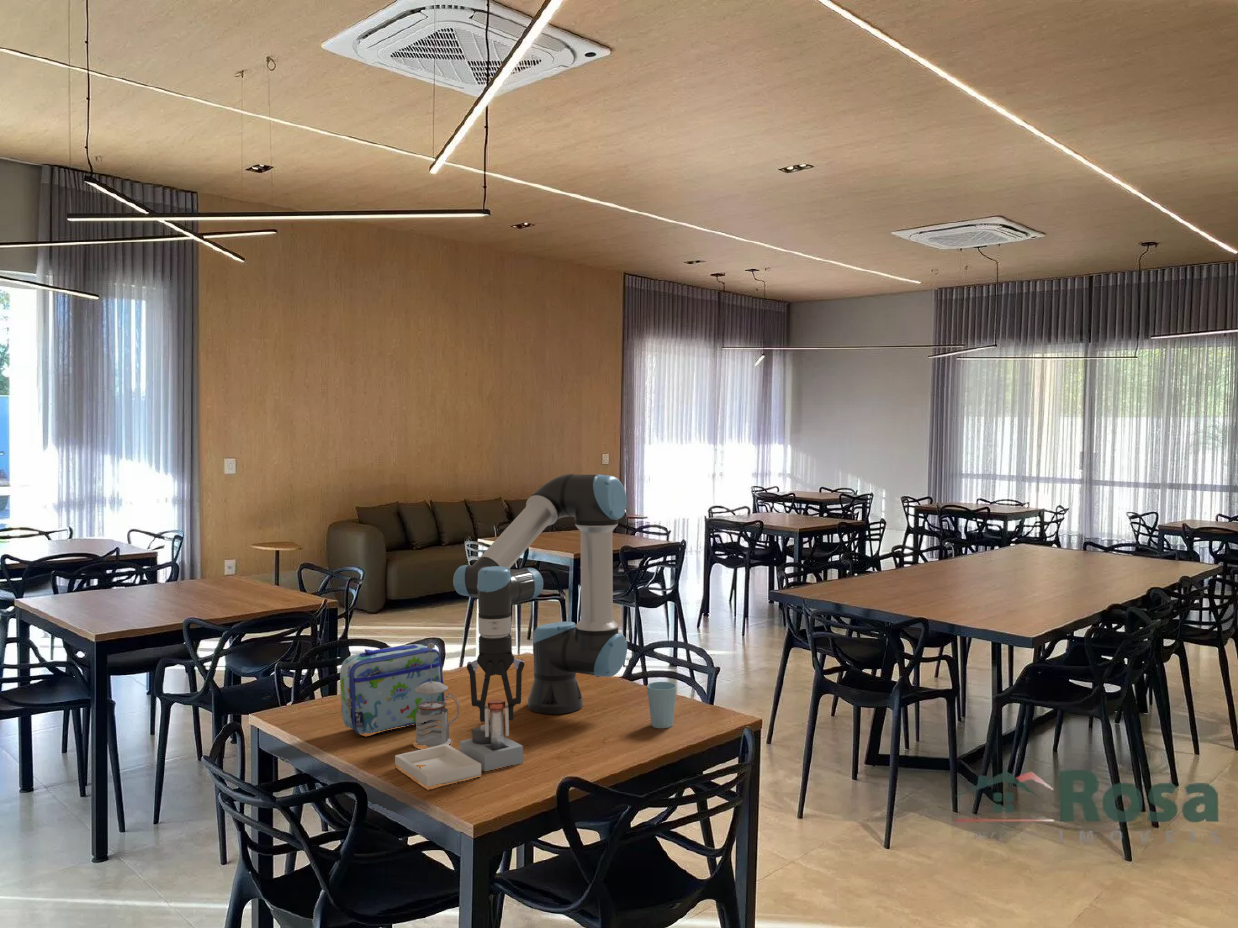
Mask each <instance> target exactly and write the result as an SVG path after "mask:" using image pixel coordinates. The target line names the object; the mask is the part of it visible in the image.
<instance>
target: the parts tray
mask: <svg viewBox="0 0 1238 928" xmlns="http://www.w3.org/2000/svg"><path fill="white" fill-rule="evenodd" d="M395 765H398V766H399V767H401V768H402V769H403V770H404V771H406V772H407V773H408V774H411V775H412V776H413V777H414V778H416V779H417V780H418V781H419V782H421V783H422V784H424V785H425V786H427V787H430V786H434V785H438V784H446V783H451V782H455V781H459V780H463V779H467V778H471V777H475V776H479V775H481V776H482V770H481V763H479V762H477V761H475V760H474V759H472V758H470V757H469V756H467V755H465V754H463V753H462V752H460V750H458V749H457V748H455V747H453V746H452V745H448V744H444V745H439V746H435V747H430V748H426V749H421V750H419V749H416V750H414V751H413V750H412V751H408V752H404V753H401V754H400V753H399V754H396V755H394V766H395ZM416 765H426V766H423V767H422V766H421V769H420V768H419V767H417V766H416Z"/></svg>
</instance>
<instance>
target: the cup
mask: <svg viewBox="0 0 1238 928" xmlns="http://www.w3.org/2000/svg"><path fill="white" fill-rule="evenodd" d="M646 688H647V689H646V690H647V696H648V705H649V706H648V707H649V715H650V716H649V717H650V721H651V722H650V724H651V727H653V728H656V729H668V728H672V727H673V724H674V716H675V708H676V707H675V705H676V697H677V696H676V695H677V688H678V687H677V684H676V683H673V682H668V681H655V682H654V681H653V682H650V683H648V684H647V685H646Z"/></svg>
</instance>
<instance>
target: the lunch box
mask: <svg viewBox="0 0 1238 928" xmlns="http://www.w3.org/2000/svg"><path fill="white" fill-rule="evenodd" d="M431 659H432V681H433V682H440V683H442V684H444V676H443V669H442V667H443V666H442V660H441V659H442V658H441V654H440V651H438V650H437V649H436V648H431V651H430V649H429V648H427V645H424V644H418V643H415V644H414V643H413V644H403V645H397V646H391V647H383V648H378V649H374V650H371V649H365V648H364V652H359V653H356V654H355V653H354V654H352V655H350V656H348V657H347V658H345V659H344V660H343V661H342V663H341V666H340V671H339V679H340V681H339V682H340V685H339V686H340V704H341V705H340V706H341V717H342V720H343V721H342V722H343V724H344V726H346V727H347V728H349V727H350V729H351V728H352V729H351V730H354V732H355V734H357V733H358V734H359V733H361V734H364V733H371V732H372V733H373V732H378V731H383V730H387V729H391V728H395V727H401V726H407V725H412V724H416V711H417V710H418V709H419V708H418V707H417V705H418V704H419V703H422V702H426V701H431V695H422V694H418V693H416V692H415V688H417V687H418V686H420V685H421V684H423V683H425V682H430V681H431ZM435 700H436V701H444V702H445V703H446V701H445V700H446V697H445V692H444V693H440V694H435V695H432V701H435ZM436 713H441V714H443V712H442V711H440V710H439V711H434V712H432V713H431V714H429V715H426V716H432V715H434V714H436ZM430 721H432V720H429V721H426V723H428V722H430ZM358 734H357V735H358Z"/></svg>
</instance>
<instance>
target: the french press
mask: <svg viewBox="0 0 1238 928" xmlns="http://www.w3.org/2000/svg"><path fill="white" fill-rule="evenodd" d="M426 647H427V648H429V649H430V651H431V648H432V649H436V646H435V643H433V642H429V643H427V645H426ZM448 688H449V686H448V685H445V684H444V683H443V684H442V683H440V682H433V681H432V659H431V681H430V682H425V683H423V684H421V685H420V686H418V687H417V688H415V692H416V693H418V694H422V695H431V701H426V702H422V703H419V704H418V705H417V707H418V708H419V709H418V710H417V711H416V725H415V731H416V732H415V734H416V735H415V737H416V740H415V741H416V743H418V744H417V745H426V746H427V747H435V746H439V745H444V744H448V745H449V744H450V742H451V740H452V739H450V725H451V724H453V723H455V721H456V720H457V718H458V717H459V714H460V701H459V700H458V698H457V697H456V696H455V695H454V694H453V693H447V694H446V696H445V700H446V701H448V700H449V698H451V699H452V700H453V701H454V703H455V704H456V714H455V715H456V716H455V717H454V719H451V720H450V721H449V718H448V716H449V714H448V713H449V711H448V708H447V702H446V701H445V702H444V701H436V700H435V701H432V695H435V694H440V693H444V694H445V692H447V691H448ZM439 710H440V711H442V714H441V713H436V714H434V715H432V716H426V715H429V714H431V713H432V712H434V711H439ZM429 720H432V721H429ZM426 721H428V722H426ZM424 722H426V723H424Z"/></svg>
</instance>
